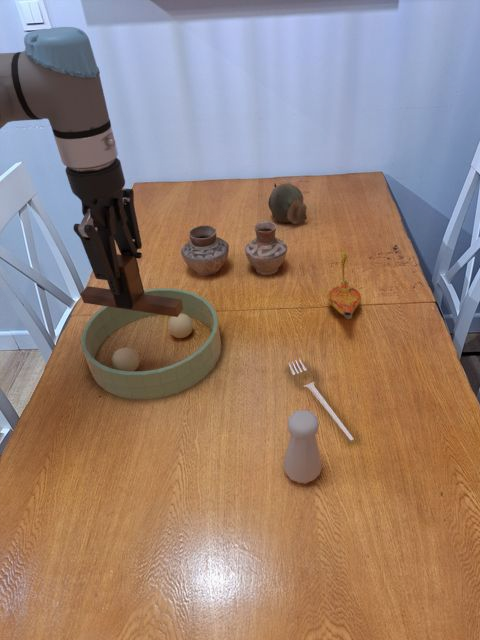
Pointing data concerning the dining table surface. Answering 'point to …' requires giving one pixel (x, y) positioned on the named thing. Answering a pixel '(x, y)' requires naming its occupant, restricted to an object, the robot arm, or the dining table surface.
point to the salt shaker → (302, 447)
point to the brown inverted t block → (133, 293)
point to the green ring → (159, 379)
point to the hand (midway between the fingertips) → (130, 299)
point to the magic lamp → (344, 295)
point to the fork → (320, 398)
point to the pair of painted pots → (212, 251)
